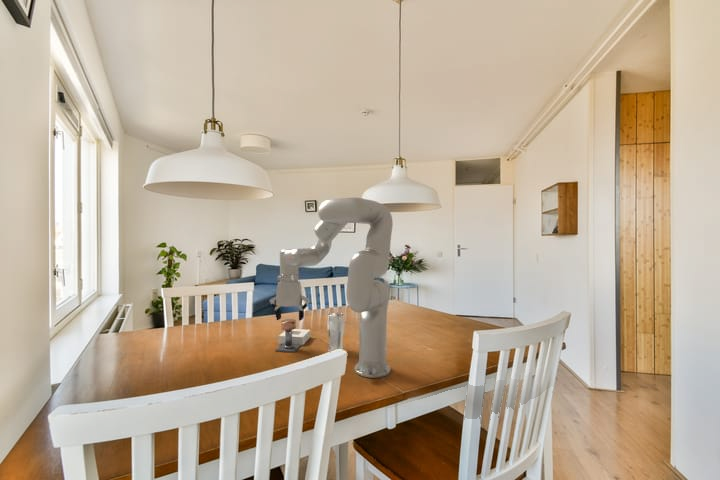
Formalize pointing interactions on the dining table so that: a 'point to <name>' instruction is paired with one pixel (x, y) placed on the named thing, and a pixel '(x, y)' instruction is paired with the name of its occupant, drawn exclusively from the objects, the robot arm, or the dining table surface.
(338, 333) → the beer glass
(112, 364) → the dining table surface
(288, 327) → the copper topped tamper
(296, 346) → the rubber mat
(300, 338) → the eye block
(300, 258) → the robot arm
